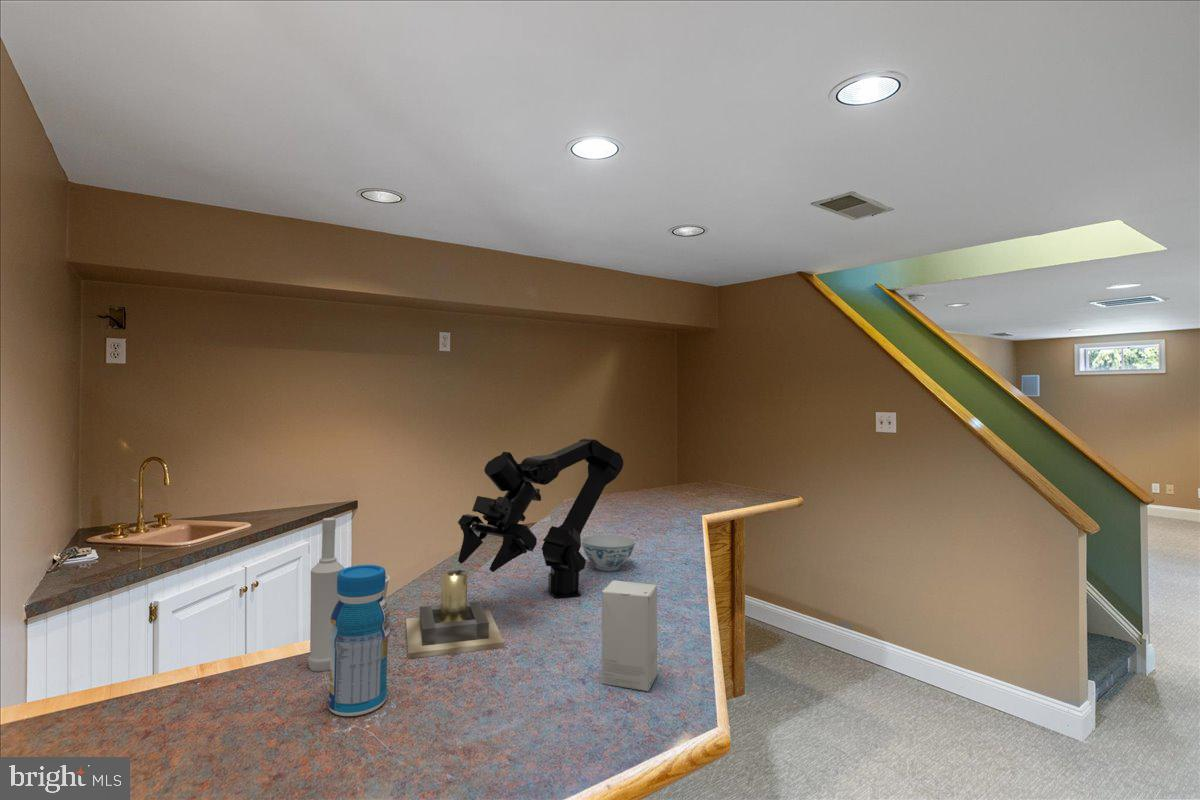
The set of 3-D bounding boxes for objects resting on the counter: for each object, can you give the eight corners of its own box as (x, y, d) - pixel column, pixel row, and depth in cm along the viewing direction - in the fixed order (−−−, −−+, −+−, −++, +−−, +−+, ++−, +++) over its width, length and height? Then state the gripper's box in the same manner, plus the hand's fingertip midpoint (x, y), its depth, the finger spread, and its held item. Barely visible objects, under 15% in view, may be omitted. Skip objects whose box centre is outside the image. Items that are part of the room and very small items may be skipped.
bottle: (315, 658, 101) (319, 515, 101) (345, 658, 101) (350, 516, 102) (302, 672, 96) (307, 522, 96) (334, 672, 96) (339, 522, 96)
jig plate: (489, 615, 124) (489, 596, 124) (503, 647, 108) (504, 626, 108) (405, 623, 118) (406, 603, 118) (408, 658, 102) (408, 636, 102)
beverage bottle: (350, 725, 81) (354, 582, 81) (314, 707, 85) (318, 571, 85) (399, 699, 88) (403, 568, 88) (364, 684, 92) (368, 559, 93)
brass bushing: (469, 625, 115) (470, 569, 115) (461, 635, 110) (462, 577, 110) (445, 624, 115) (446, 568, 115) (435, 634, 110) (437, 575, 111)
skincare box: (658, 676, 98) (660, 584, 98) (648, 694, 92) (650, 596, 92) (611, 667, 101) (613, 578, 101) (598, 684, 94) (601, 589, 94)
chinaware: (635, 576, 155) (636, 547, 155) (579, 574, 155) (580, 545, 155) (633, 561, 170) (633, 534, 170) (582, 559, 170) (582, 533, 170)
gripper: (465, 477, 127) (422, 536, 118) (528, 486, 116) (487, 552, 107) (490, 508, 133) (452, 566, 124) (552, 518, 123) (515, 583, 114)
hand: (475, 566), depth 117 cm, fingers open, 9 cm apart
